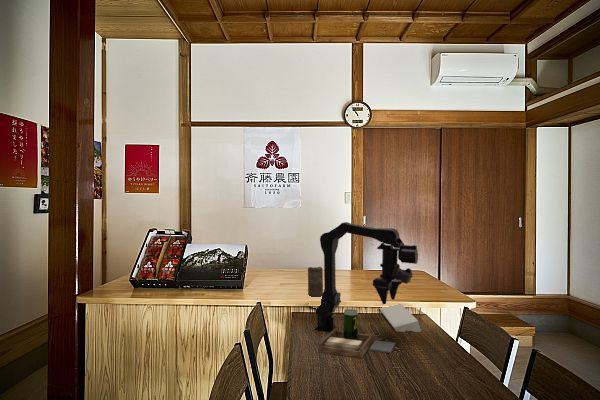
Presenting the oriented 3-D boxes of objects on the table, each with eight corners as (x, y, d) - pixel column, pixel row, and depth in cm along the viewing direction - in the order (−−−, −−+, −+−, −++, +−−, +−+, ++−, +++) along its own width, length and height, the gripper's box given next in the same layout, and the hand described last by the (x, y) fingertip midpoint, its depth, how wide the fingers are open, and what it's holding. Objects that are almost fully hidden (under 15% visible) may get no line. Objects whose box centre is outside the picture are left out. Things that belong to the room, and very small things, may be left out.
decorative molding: (397, 339, 181) (421, 332, 181) (394, 327, 181) (418, 320, 181) (380, 315, 215) (400, 310, 215) (377, 306, 215) (397, 300, 215)
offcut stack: (324, 350, 158) (324, 340, 158) (329, 346, 163) (329, 336, 163) (359, 356, 153) (359, 345, 153) (363, 350, 158) (363, 340, 158)
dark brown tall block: (305, 308, 215) (305, 267, 215) (310, 305, 222) (310, 265, 222) (320, 310, 212) (321, 268, 212) (325, 306, 219) (325, 266, 219)
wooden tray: (318, 352, 157) (318, 343, 157) (335, 335, 175) (335, 328, 175) (362, 358, 151) (362, 349, 151) (374, 340, 169) (374, 332, 169)
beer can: (341, 344, 165) (342, 311, 165) (345, 339, 170) (345, 308, 170) (355, 345, 163) (356, 313, 163) (359, 341, 168) (359, 309, 168)
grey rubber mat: (369, 350, 159) (369, 348, 159) (375, 341, 168) (375, 340, 168) (390, 353, 156) (390, 351, 156) (395, 344, 165) (395, 342, 165)
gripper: (401, 267, 160) (400, 310, 160) (418, 260, 176) (416, 300, 176) (372, 263, 166) (371, 305, 166) (390, 257, 181) (389, 296, 182)
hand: (388, 301), depth 172 cm, fingers open, 9 cm apart
